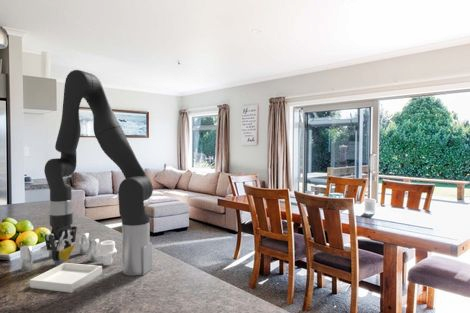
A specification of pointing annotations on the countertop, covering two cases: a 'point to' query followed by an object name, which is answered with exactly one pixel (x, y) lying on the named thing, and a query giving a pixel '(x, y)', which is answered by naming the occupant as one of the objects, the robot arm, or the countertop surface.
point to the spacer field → (84, 246)
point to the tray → (66, 277)
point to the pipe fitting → (107, 251)
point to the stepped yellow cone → (64, 255)
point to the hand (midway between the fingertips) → (61, 257)
